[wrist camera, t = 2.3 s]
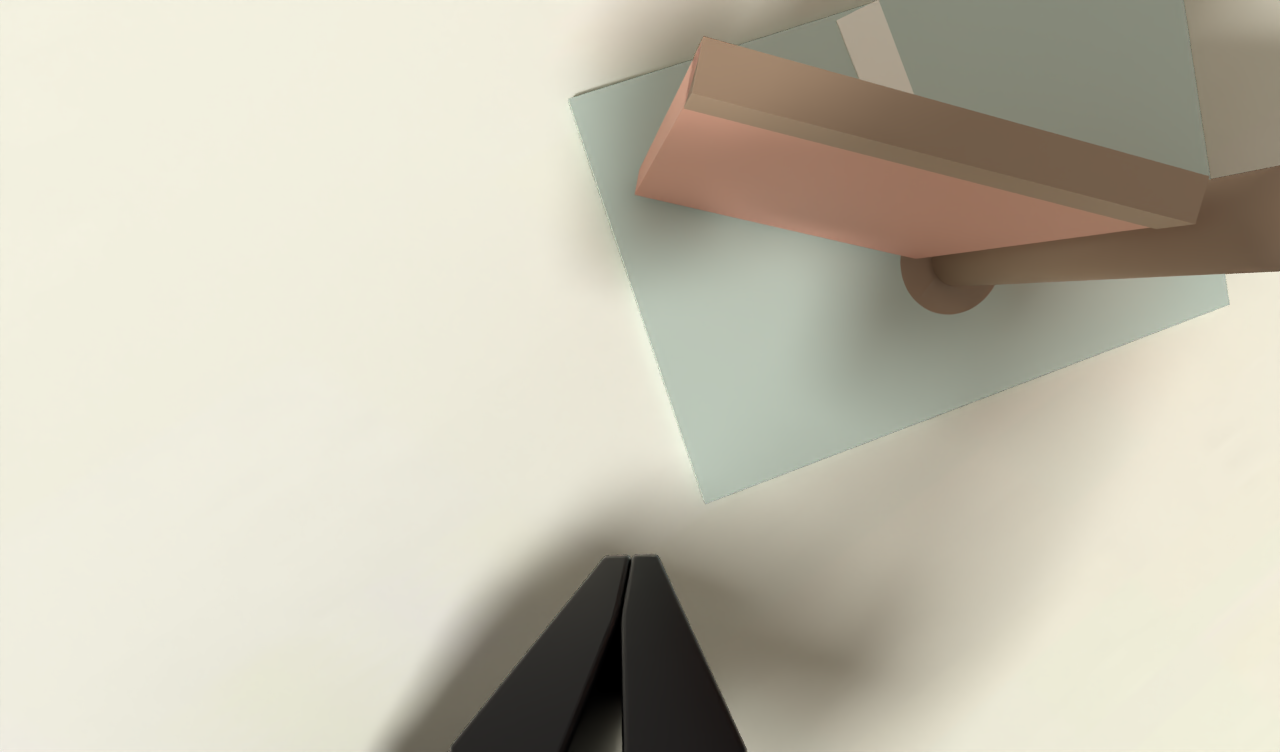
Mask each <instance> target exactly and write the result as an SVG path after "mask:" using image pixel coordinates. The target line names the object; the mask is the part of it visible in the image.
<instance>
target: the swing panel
mask: <svg viewBox="0 0 1280 752" xmlns="http://www.w3.org/2000/svg"><path fill="white" fill-rule="evenodd" d="M635 195H638V196H642V197H646V198H651V199H655V200H659V201H664V202H668V203H673V204H677V205H681V206H686V207H690V208H695V209H699V210H703V211H708V212H712V213H716V214H721V215H725V216H730V217H734V218H738V219H743V220H747V221H752V222H756V223H760V224H765V225H769V226H773V227H778V228H782V229H787V230H791V231H795V232H800V233H804V234H808V235H813V236H817V237H822V238H826V239H830V240H835V241H839V242H844V243H848V244H852V245H857V246H861V247H865V248H870V249H874V250H879V251H883V252H887V253H892V254H896V255H901V256H905V257H909V258H914V259H919V258H927V257H932V266H933V269H934V272H935V274H936V276H937V277H938V278H939V280H941V281H942V282H943V283H945V284H947V285H949V286H954V287H959V286H980V285H1001V284H1022V283H1043V282H1064V281H1085V280H1107V279H1128V278H1149V277H1170V276H1191V275H1212V274H1233V273H1254V272H1275V271H1280V166H1275V167H1270V168H1265V169H1260V170H1255V171H1250V172H1244V173H1239V174H1234V175H1229V176H1224V177H1219V178H1214V179H1209V176H1207V175H1203V174H1200V173H1196V172H1192V171H1189V170H1185V169H1182V168H1178V167H1174V166H1171V165H1167V164H1164V163H1160V162H1156V161H1153V160H1149V159H1146V158H1142V157H1138V156H1135V155H1131V154H1127V153H1124V152H1120V151H1117V150H1113V149H1109V148H1106V147H1102V146H1099V145H1095V144H1091V143H1088V142H1084V141H1080V140H1077V139H1073V138H1070V137H1066V136H1062V135H1059V134H1055V133H1052V132H1048V131H1044V130H1041V129H1037V128H1034V127H1030V126H1026V125H1023V124H1019V123H1015V122H1012V121H1008V120H1005V119H1001V118H997V117H994V116H990V115H987V114H983V113H979V112H976V111H972V110H968V109H965V108H961V107H958V106H954V105H950V104H947V103H943V102H940V101H936V100H932V99H929V98H925V97H922V96H918V95H914V94H911V93H907V92H903V91H900V90H896V89H893V88H889V87H885V86H882V85H878V84H875V83H871V82H867V81H864V80H860V79H857V78H853V77H849V76H846V75H842V74H838V73H835V72H831V71H828V70H824V69H820V68H817V67H813V66H810V65H806V64H802V63H799V62H795V61H791V60H788V59H784V58H781V57H777V56H773V55H770V54H766V53H763V52H759V51H755V50H752V49H748V48H745V47H741V46H737V45H734V44H730V43H726V42H723V41H719V40H716V39H712V38H708V37H705V36H703V38H702V40H701V42H700V44H699V46H698V48H697V50H696V52H695V55H694V58H693V60H692V62H691V65H690V67H689V69H688V71H687V73H686V75H685V77H684V79H683V81H682V83H681V85H680V87H679V89H678V91H677V93H676V95H675V97H674V99H673V101H672V103H671V105H670V108H669V110H668V112H667V114H666V116H665V118H664V120H663V122H662V124H661V126H660V128H659V130H658V132H657V134H656V136H655V138H654V140H653V142H652V144H651V146H650V148H649V151H648V153H647V155H646V157H645V159H644V161H643V163H642V165H641V167H640V169H639V174H638V179H637V184H636V190H635Z"/></svg>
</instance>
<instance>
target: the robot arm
mask: <svg viewBox="0 0 1280 752" xmlns="http://www.w3.org/2000/svg"><path fill="white" fill-rule="evenodd" d="M450 752H747V748H746V746H745V744H744V742H743V740H742V737H741V735H740V733H739V731H738V729H737V727H736V724H735V722H734V720H733V718H732V716H731V713H730V711H729V709H728V707H727V705H726V702H725V700H724V698H723V696H722V694H721V691H720V689H719V687H718V685H717V683H716V681H715V678H714V676H713V674H712V672H711V670H710V667H709V665H708V663H707V661H706V659H705V656H704V654H703V652H702V650H701V648H700V645H699V643H698V641H697V639H696V637H695V634H694V632H693V630H692V628H691V626H690V624H689V621H688V619H687V617H686V615H685V613H684V610H683V608H682V606H681V604H680V602H679V599H678V597H677V595H676V593H675V591H674V588H673V586H672V584H671V582H670V580H669V578H668V575H667V573H666V571H665V569H664V567H663V564H662V562H661V560H660V558H659V556H658V555H656V554H639V555H634V556H633V557H632V559H631V557H630V556H628V555H608V556H605V557H604V558H603V559H602V560H601V561H600V562H599V564H598V565H597V566H596V567H595V569H594V570H593V571H592V572H591V574H590V575H589V576H588V577H587V578H586V580H585V581H584V582H583V583H582V585H581V586H580V587H579V588H578V590H577V591H576V592H575V593H574V595H573V596H572V597H571V598H570V599H569V601H568V602H567V603H566V604H565V606H564V607H563V608H562V609H561V611H560V612H559V613H558V614H557V615H556V617H555V618H554V619H553V620H552V622H551V623H550V624H549V625H548V627H547V628H546V629H545V630H544V631H543V633H542V634H541V635H540V636H539V638H538V639H537V640H536V641H535V643H534V644H533V645H532V646H531V648H530V649H529V650H528V651H527V652H526V654H525V655H524V656H523V657H522V659H521V660H520V661H519V662H518V664H517V665H516V666H515V667H514V668H513V670H512V671H511V672H510V673H509V675H508V676H507V677H506V678H505V680H504V681H503V682H502V683H501V684H500V686H499V687H498V688H497V689H496V691H495V692H494V693H493V694H492V696H491V697H490V698H489V699H488V701H487V702H486V703H485V704H484V705H483V707H482V708H481V709H480V710H479V712H478V713H477V714H476V715H475V717H474V718H473V719H472V720H471V721H470V723H469V724H468V725H467V726H466V728H465V729H464V730H463V731H462V733H461V734H460V735H459V736H458V737H457V739H456V740H455V741H454V742H453V744H452V745H451V746H450Z"/></svg>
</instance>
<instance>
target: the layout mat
mask: <svg viewBox="0 0 1280 752" xmlns="http://www.w3.org/2000/svg"><path fill="white" fill-rule="evenodd" d="M737 46H741V47H745V48H748V49H752V50H755V51H759V52H763V53H766V54H770V55H773V56H777V57H781V58H784V59H788V60H791V61H795V62H799V63H802V64H806V65H810V66H813V67H817V68H820V69H824V70H828V71H831V72H835V73H838V74H842V75H846V76H849V77H853V78H857V79H860V80H864V81H867V82H871V83H875V84H878V85H882V86H885V87H889V88H893V89H896V90H900V91H903V92H907V93H911V94H914V95H918V96H922V97H925V98H929V99H932V100H936V101H940V102H943V103H947V104H950V105H954V106H958V107H961V108H965V109H968V110H972V111H976V112H979V113H983V114H987V115H990V116H994V117H997V118H1001V119H1005V120H1008V121H1012V122H1015V123H1019V124H1023V125H1026V126H1030V127H1034V128H1037V129H1041V130H1044V131H1048V132H1052V133H1055V134H1059V135H1062V136H1066V137H1070V138H1073V139H1077V140H1080V141H1084V142H1088V143H1091V144H1095V145H1099V146H1102V147H1106V148H1109V149H1113V150H1117V151H1120V152H1124V153H1127V154H1131V155H1135V156H1138V157H1142V158H1146V159H1149V160H1153V161H1156V162H1160V163H1164V164H1167V165H1171V166H1174V167H1178V168H1182V169H1185V170H1189V171H1192V172H1196V173H1200V174H1203V175H1207V176H1209V179H1211V178H1210V171H1209V164H1208V158H1207V151H1206V144H1205V138H1204V131H1203V124H1202V118H1201V111H1200V105H1199V98H1198V91H1197V85H1196V78H1195V71H1194V65H1193V58H1192V51H1191V45H1190V38H1189V32H1188V25H1187V18H1186V12H1185V5H1184V0H876V1H874V2H872V3H869V4H866V5H863V6H860V7H857V8H854V9H850V10H847V11H844V12H841V13H838V14H835V15H832V16H828V17H825V18H822V19H819V20H816V21H813V22H809V23H806V24H803V25H800V26H797V27H794V28H790V29H787V30H784V31H781V32H778V33H775V34H772V35H768V36H765V37H762V38H759V39H756V40H753V41H749V42H746V43H743V44H740V45H737ZM691 62H692V60H689V61H686V62H683V63H680V64H677V65H674V66H670V67H667V68H664V69H661V70H658V71H655V72H651V73H648V74H645V75H642V76H639V77H636V78H633V79H629V80H626V81H623V82H620V83H617V84H614V85H610V86H607V87H604V88H601V89H598V90H595V91H591V92H588V93H585V94H582V95H579V96H576V97H573V98H569V99H568V101H569V105H570V108H571V111H572V114H573V117H574V120H575V123H576V126H577V129H578V132H579V135H580V138H581V141H582V143H583V146H584V149H585V152H586V155H587V158H588V161H589V164H590V167H591V170H592V173H593V176H594V179H595V182H596V185H597V188H598V191H599V194H600V197H601V200H602V202H603V205H604V208H605V211H606V214H607V217H608V220H609V223H610V226H611V229H612V232H613V235H614V238H615V241H616V244H617V247H618V250H619V253H620V256H621V259H622V262H623V264H624V267H625V270H626V273H627V276H628V279H629V282H630V285H631V288H632V291H633V294H634V297H635V300H636V303H637V306H638V309H639V312H640V315H641V318H642V321H643V323H644V326H645V329H646V332H647V335H648V338H649V341H650V344H651V347H652V350H653V353H654V356H655V359H656V362H657V365H658V368H659V371H660V374H661V377H662V380H663V383H664V385H665V388H666V391H667V394H668V397H669V400H670V403H671V406H672V409H673V412H674V415H675V418H676V421H677V424H678V427H679V430H680V433H681V436H682V439H683V442H684V444H685V447H686V450H687V453H688V456H689V459H690V462H691V465H692V468H693V471H694V474H695V477H696V480H697V483H698V486H699V489H700V492H701V495H702V498H703V501H704V502H705V504H707V503H710V502H712V501H715V500H718V499H720V498H723V497H726V496H728V495H731V494H733V493H736V492H739V491H741V490H744V489H747V488H749V487H752V486H754V485H757V484H760V483H762V482H765V481H768V480H770V479H773V478H775V477H778V476H781V475H783V474H786V473H789V472H791V471H794V470H796V469H799V468H802V467H804V466H807V465H810V464H812V463H815V462H817V461H820V460H823V459H825V458H828V457H831V456H833V455H836V454H838V453H841V452H844V451H846V450H849V449H852V448H854V447H857V446H859V445H862V444H865V443H867V442H870V441H873V440H875V439H878V438H880V437H883V436H886V435H888V434H891V433H894V432H896V431H899V430H901V429H904V428H907V427H909V426H912V425H915V424H917V423H920V422H922V421H925V420H928V419H930V418H933V417H936V416H938V415H941V414H943V413H946V412H949V411H951V410H954V409H957V408H959V407H962V406H964V405H967V404H970V403H972V402H975V401H978V400H980V399H983V398H985V397H988V396H991V395H993V394H996V393H999V392H1001V391H1004V390H1006V389H1009V388H1012V387H1014V386H1017V385H1020V384H1022V383H1025V382H1027V381H1030V380H1033V379H1035V378H1038V377H1041V376H1043V375H1046V374H1048V373H1051V372H1054V371H1056V370H1059V369H1062V368H1064V367H1067V366H1069V365H1072V364H1075V363H1077V362H1080V361H1083V360H1085V359H1088V358H1090V357H1093V356H1096V355H1098V354H1101V353H1104V352H1106V351H1109V350H1111V349H1114V348H1117V347H1119V346H1122V345H1125V344H1127V343H1130V342H1132V341H1135V340H1138V339H1140V338H1143V337H1146V336H1148V335H1151V334H1153V333H1156V332H1159V331H1161V330H1164V329H1167V328H1169V327H1172V326H1174V325H1177V324H1180V323H1182V322H1185V321H1188V320H1190V319H1193V318H1196V317H1198V316H1201V315H1203V314H1206V313H1209V312H1211V311H1214V310H1217V309H1219V308H1222V307H1224V306H1227V305H1230V304H1229V297H1228V290H1227V284H1226V277H1225V274H1212V275H1191V276H1170V277H1149V278H1128V279H1107V280H1085V281H1064V282H1043V283H1022V284H1001V285H995V286H994V287H993V289H992V291H991V292H990V293H989V294H988V296H987V297H986V298H985V299H984V298H982V297H981V298H982V299H984V300H982V302H980V303H979V302H977V306H973V308H972V309H970V310H967V311H965V312H962V313H958V314H952V315H944V314H940V313H939V314H938V313H934V312H931V311H929V310H927V308H926V309H925V308H924V307H922V306H921V304H920V305H919V304H918V303H917V301H915V300H914V299H913V298H912V296H911V295H910V293H909V292H908V290H907V288H906V286H905V284H904V281H903V278H902V274H901V266H900V258H901V255H896V254H892V253H887V252H883V251H879V250H874V249H870V248H865V247H861V246H857V245H852V244H848V243H844V242H839V241H835V240H830V239H826V238H822V237H817V236H813V235H808V234H804V233H800V232H795V231H791V230H787V229H782V228H778V227H773V226H769V225H765V224H760V223H756V222H752V221H747V220H743V219H738V218H734V217H730V216H725V215H721V214H716V213H712V212H708V211H703V210H699V209H695V208H690V207H686V206H681V205H677V204H673V203H668V202H664V201H659V200H655V199H651V198H646V197H642V196H638V195H635V190H636V184H637V179H638V174H639V169H640V167H641V165H642V163H643V161H644V159H645V157H646V155H647V153H648V151H649V148H650V146H651V144H652V142H653V140H654V138H655V136H656V134H657V132H658V130H659V128H660V126H661V124H662V122H663V120H664V118H665V116H666V114H667V112H668V110H669V108H670V105H671V103H672V101H673V99H674V97H675V95H676V93H677V91H678V89H679V87H680V85H681V83H682V81H683V79H684V77H685V75H686V73H687V71H688V69H689V67H690V65H691ZM909 263H910V262H909ZM911 263H912V262H911ZM911 266H912V265H911ZM912 269H913V268H912ZM915 270H916V269H915ZM932 271H933V270H932ZM909 273H910V272H909ZM920 273H921V272H920ZM914 274H915V273H914ZM934 274H935V273H934ZM922 276H923V275H922ZM926 277H927V276H926ZM906 278H907V277H906ZM925 280H926V279H925ZM932 280H933V279H932ZM918 281H919V280H918ZM940 281H941V280H940ZM922 282H923V281H922ZM933 282H934V281H933ZM936 282H938V281H936ZM931 284H932V283H931ZM936 284H937V283H936ZM911 285H912V284H911ZM938 285H939V284H938ZM938 285H936V289H937V286H938ZM916 286H917V285H916ZM929 286H930V285H929ZM933 286H934V285H933ZM939 286H940V285H939ZM986 286H987V285H986ZM931 287H932V286H931ZM944 287H947V286H945V285H944ZM944 287H943V288H944ZM969 287H970V286H969ZM975 287H976V286H975ZM938 288H939V287H938ZM951 288H952V287H951ZM953 288H954V287H953ZM959 288H960V287H959ZM961 288H962V287H961ZM978 288H979V287H978ZM978 288H977V289H978ZM982 288H983V287H982ZM955 289H957V288H955ZM975 289H976V288H975ZM914 290H915V289H914ZM933 290H934V289H933ZM945 290H946V289H945ZM947 290H948V289H947ZM979 290H981V289H979ZM988 290H989V289H988ZM930 291H931V290H930ZM949 291H950V290H949ZM951 291H952V290H951ZM953 291H954V290H953ZM960 291H961V290H960ZM960 291H959V292H960ZM965 291H966V289H965ZM976 291H977V290H976ZM983 291H985V289H984V290H983ZM924 292H925V291H924ZM924 292H923V293H924ZM932 292H933V291H932ZM934 292H935V291H934ZM939 292H941V293H942V292H943V291H942V290H941V291H939ZM947 292H948V291H947ZM959 292H957V293H959ZM967 292H968V291H967ZM973 292H974V291H973ZM964 293H965V292H964ZM971 293H972V292H971ZM978 293H979V291H978ZM980 293H981V292H980ZM982 293H984V292H982ZM917 294H918V293H917ZM944 294H945V293H944ZM947 294H948V293H947ZM952 294H953V293H952ZM954 294H955V295H956V293H954ZM962 294H963V293H962ZM966 294H968V293H966ZM985 294H986V293H985ZM922 295H923V294H922ZM933 295H935V294H933ZM937 295H938V294H937ZM937 295H935V296H937ZM957 295H958V294H957ZM963 295H964V294H963ZM976 295H977V294H976ZM983 295H984V294H982V296H983ZM924 296H925V295H924ZM938 296H939V295H938ZM940 296H941V295H940ZM961 296H962V295H961ZM972 296H973V294H972ZM974 296H975V295H974ZM921 297H922V296H921ZM942 297H943V296H942ZM945 297H946V296H945ZM951 297H952V295H951ZM956 297H957V298H958V296H956ZM966 297H967V296H966ZM968 297H969V296H968ZM968 297H967V298H968ZM928 298H929V297H928ZM953 298H954V297H953ZM962 298H964V296H963V297H962ZM973 298H974V297H973ZM973 298H971V297H970V299H973ZM940 299H941V298H940ZM948 299H949V298H948ZM948 299H947V300H948ZM970 299H969V300H970ZM917 300H918V299H917ZM951 300H952V298H951ZM953 300H954V299H953ZM958 300H960V296H959V299H958ZM958 300H957V301H958ZM965 300H967V299H965ZM965 300H964V301H965ZM969 300H968V301H969ZM978 300H979V299H978ZM938 301H939V300H938ZM945 301H946V300H945ZM949 301H950V300H949ZM970 301H972V300H970ZM974 301H975V299H974ZM976 301H977V299H976ZM928 302H929V301H928ZM950 302H951V301H950ZM950 302H949V303H950ZM962 302H963V301H962ZM965 302H966V301H965ZM934 303H935V302H934ZM960 303H961V302H960ZM968 303H969V302H968ZM975 303H976V302H975ZM975 303H973V304H975ZM978 303H979V304H978ZM932 304H933V302H932ZM947 304H948V303H947ZM952 304H953V303H952ZM961 304H962V303H961ZM970 304H971V303H970ZM945 305H946V304H945ZM945 305H944V306H945ZM956 305H957V304H956ZM964 306H965V305H964ZM964 306H963V307H964ZM926 307H927V306H926ZM949 307H950V306H949ZM967 307H968V306H967ZM942 308H943V307H942ZM964 308H965V307H964ZM943 309H944V308H943ZM945 309H946V308H945ZM956 309H957V308H956ZM968 309H969V307H968ZM932 311H933V310H932ZM962 311H963V310H962ZM935 312H936V311H935ZM947 312H948V311H947ZM950 312H951V311H950ZM947 314H948V313H947Z"/></svg>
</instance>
